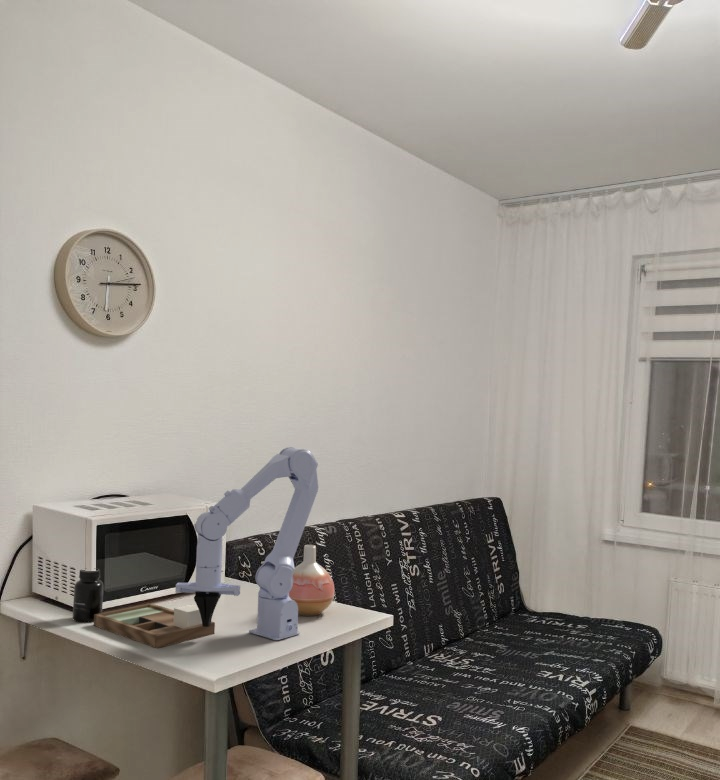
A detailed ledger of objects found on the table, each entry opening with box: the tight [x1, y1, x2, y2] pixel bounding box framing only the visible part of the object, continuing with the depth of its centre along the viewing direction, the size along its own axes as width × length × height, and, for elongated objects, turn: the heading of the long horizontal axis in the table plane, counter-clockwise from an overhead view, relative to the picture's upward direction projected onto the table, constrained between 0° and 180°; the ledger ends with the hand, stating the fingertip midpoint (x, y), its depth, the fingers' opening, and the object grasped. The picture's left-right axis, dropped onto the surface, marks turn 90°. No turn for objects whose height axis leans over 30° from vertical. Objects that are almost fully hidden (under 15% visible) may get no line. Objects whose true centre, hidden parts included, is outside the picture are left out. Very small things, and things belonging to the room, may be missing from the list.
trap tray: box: [93, 602, 216, 649], centre depth 183 cm, size 25×16×3 cm, turn 51°
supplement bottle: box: [72, 568, 104, 623], centre depth 190 cm, size 7×7×12 cm
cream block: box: [173, 604, 202, 629], centre depth 180 cm, size 5×5×4 cm
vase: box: [289, 544, 335, 617], centre depth 203 cm, size 14×14×18 cm
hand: (206, 625), depth 176 cm, fingers closed
